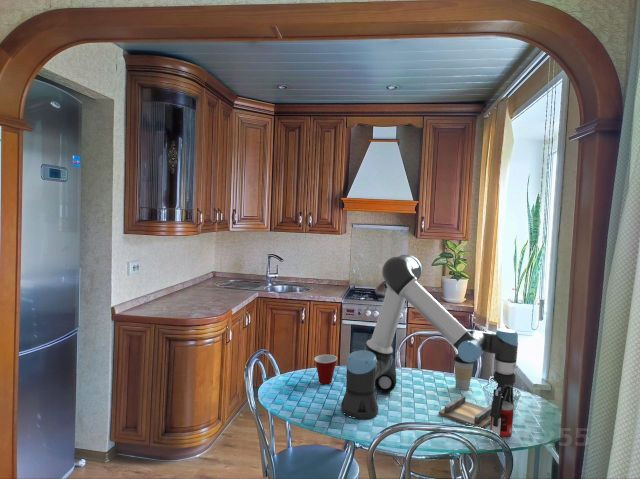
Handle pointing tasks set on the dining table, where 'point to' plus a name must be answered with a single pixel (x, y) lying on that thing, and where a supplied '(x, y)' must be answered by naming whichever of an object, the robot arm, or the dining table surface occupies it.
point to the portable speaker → (387, 380)
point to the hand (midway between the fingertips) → (500, 429)
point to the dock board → (467, 412)
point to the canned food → (505, 419)
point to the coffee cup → (462, 373)
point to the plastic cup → (325, 367)
